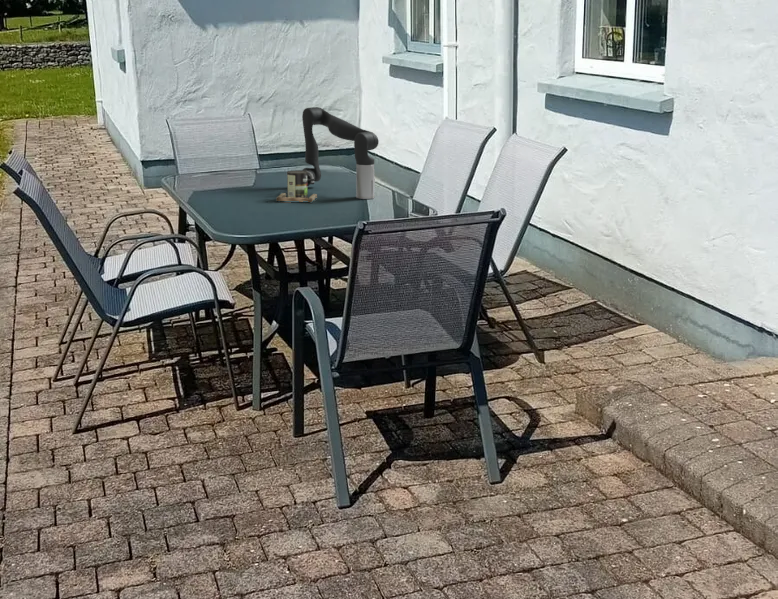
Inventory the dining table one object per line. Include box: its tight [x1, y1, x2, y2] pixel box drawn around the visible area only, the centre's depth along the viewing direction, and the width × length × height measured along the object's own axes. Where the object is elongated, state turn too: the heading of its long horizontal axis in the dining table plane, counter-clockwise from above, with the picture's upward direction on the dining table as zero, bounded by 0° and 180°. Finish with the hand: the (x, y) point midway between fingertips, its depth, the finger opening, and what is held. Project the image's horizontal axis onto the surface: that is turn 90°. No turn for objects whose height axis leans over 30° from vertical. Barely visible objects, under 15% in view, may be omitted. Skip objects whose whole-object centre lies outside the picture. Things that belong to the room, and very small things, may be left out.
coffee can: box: [286, 170, 309, 198], centre depth 494 cm, size 10×10×14 cm
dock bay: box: [275, 192, 318, 202], centre depth 494 cm, size 18×14×2 cm
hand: (299, 183), depth 499 cm, fingers closed
